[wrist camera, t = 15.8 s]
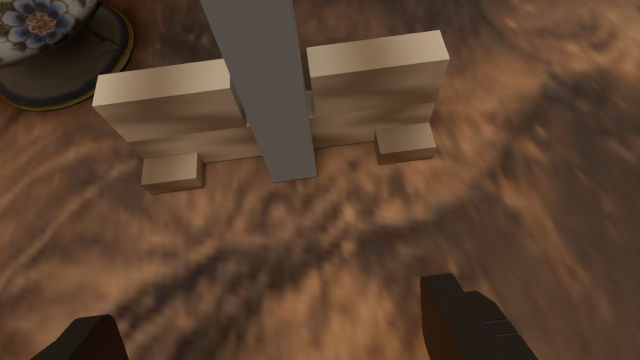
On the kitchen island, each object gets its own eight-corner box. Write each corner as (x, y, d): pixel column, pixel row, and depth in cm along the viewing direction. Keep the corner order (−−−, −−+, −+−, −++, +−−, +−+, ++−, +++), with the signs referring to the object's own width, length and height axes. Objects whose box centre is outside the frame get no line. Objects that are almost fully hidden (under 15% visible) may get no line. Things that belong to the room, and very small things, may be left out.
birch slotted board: (412, 89, 24) (431, 6, 18) (431, 157, 21) (459, 87, 16) (158, 122, 24) (103, 50, 18) (151, 194, 21) (85, 136, 16)
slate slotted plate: (307, 100, 24) (273, -121, 13) (317, 176, 21) (286, -19, 11) (267, 106, 24) (201, -111, 13) (273, 182, 21) (197, -7, 11)
